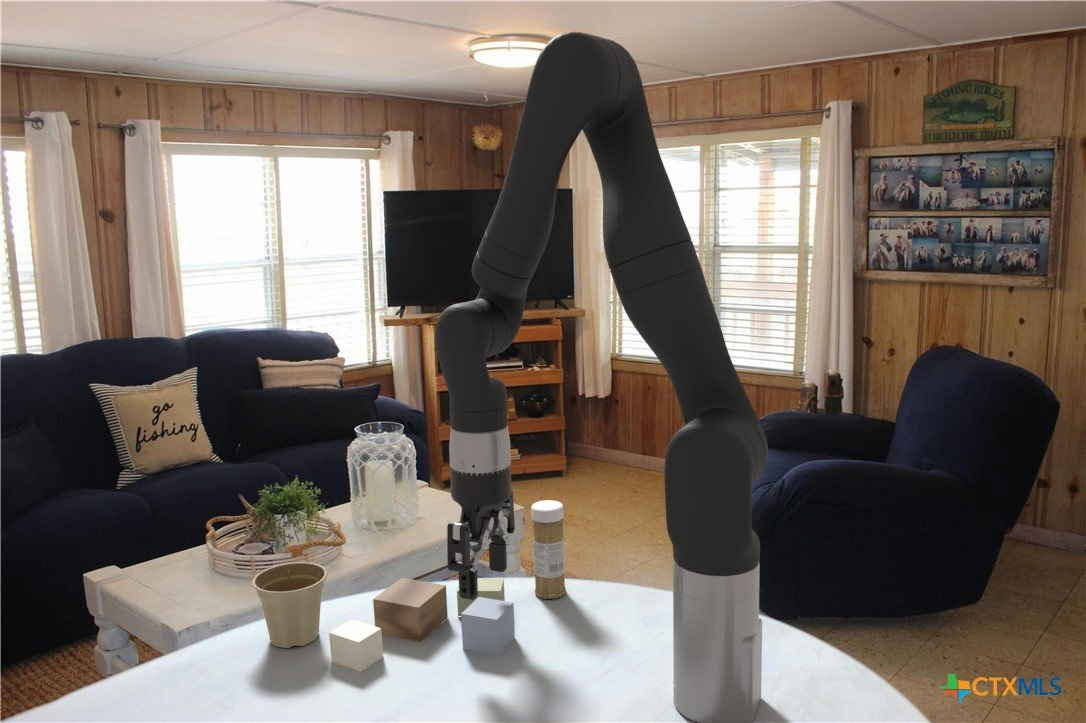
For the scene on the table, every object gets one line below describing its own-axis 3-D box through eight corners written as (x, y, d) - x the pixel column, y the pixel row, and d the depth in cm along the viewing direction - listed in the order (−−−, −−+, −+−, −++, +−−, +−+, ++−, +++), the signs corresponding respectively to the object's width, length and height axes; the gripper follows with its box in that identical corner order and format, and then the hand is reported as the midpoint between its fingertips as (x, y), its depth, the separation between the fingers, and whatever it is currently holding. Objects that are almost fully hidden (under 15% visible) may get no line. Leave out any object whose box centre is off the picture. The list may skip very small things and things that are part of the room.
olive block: (504, 605, 126) (503, 578, 126) (501, 618, 122) (500, 590, 122) (462, 605, 127) (461, 578, 126) (458, 618, 123) (456, 590, 122)
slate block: (514, 638, 117) (513, 602, 116) (498, 656, 112) (496, 619, 111) (480, 632, 119) (478, 596, 118) (462, 650, 114) (461, 613, 113)
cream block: (383, 657, 113) (381, 628, 112) (360, 672, 110) (358, 642, 109) (354, 648, 116) (351, 619, 115) (331, 662, 112) (329, 632, 111)
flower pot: (341, 621, 123) (336, 562, 121) (317, 656, 113) (312, 592, 112) (275, 620, 124) (269, 561, 122) (246, 654, 114) (240, 591, 113)
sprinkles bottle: (561, 584, 132) (559, 497, 129) (569, 598, 127) (566, 508, 125) (531, 588, 131) (528, 500, 128) (538, 602, 126) (534, 511, 124)
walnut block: (447, 619, 123) (445, 585, 122) (420, 643, 116) (418, 607, 115) (404, 611, 125) (402, 577, 124) (375, 634, 119) (373, 599, 118)
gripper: (482, 482, 103) (486, 613, 106) (530, 448, 116) (533, 565, 119) (424, 475, 106) (430, 603, 109) (478, 442, 119) (482, 557, 122)
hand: (484, 583), depth 114 cm, fingers open, 8 cm apart
